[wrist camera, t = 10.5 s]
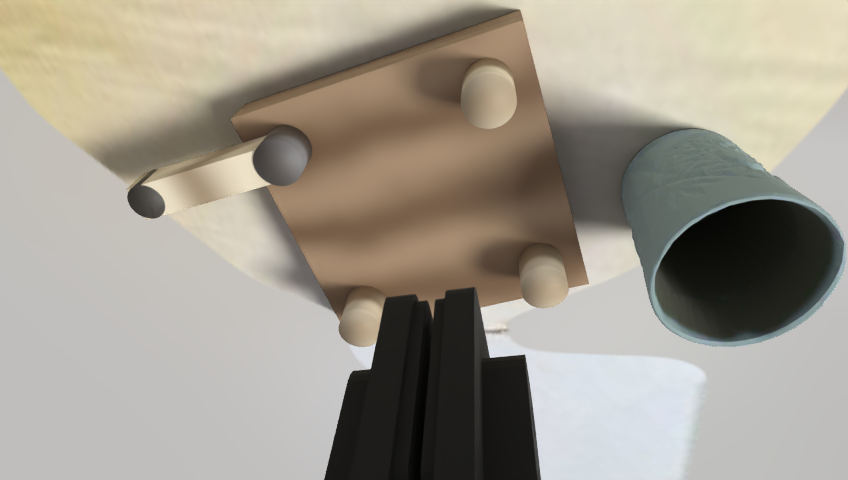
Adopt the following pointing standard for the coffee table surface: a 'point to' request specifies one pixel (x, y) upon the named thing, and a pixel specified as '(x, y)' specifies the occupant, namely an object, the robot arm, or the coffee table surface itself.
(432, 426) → the robot arm
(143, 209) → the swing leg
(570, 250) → the stool seat
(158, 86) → the coffee table surface
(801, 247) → the teal cup
